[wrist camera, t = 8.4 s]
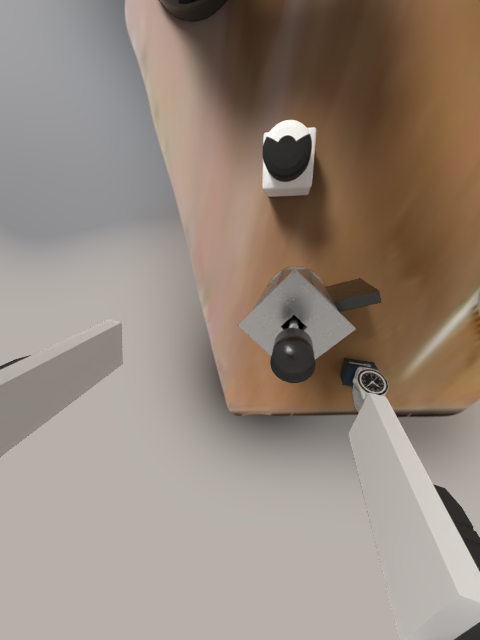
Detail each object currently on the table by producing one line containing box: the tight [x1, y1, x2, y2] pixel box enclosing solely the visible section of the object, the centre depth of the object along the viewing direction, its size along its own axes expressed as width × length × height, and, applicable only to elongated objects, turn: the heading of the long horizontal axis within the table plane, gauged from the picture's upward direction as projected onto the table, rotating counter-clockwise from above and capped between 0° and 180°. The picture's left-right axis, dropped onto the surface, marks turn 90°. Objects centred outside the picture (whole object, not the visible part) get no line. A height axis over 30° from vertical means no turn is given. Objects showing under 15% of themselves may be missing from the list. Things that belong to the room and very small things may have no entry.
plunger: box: [270, 315, 315, 383], centre depth 32 cm, size 9×9×23 cm
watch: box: [340, 358, 389, 412], centre depth 43 cm, size 6×8×11 cm
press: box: [238, 267, 381, 359], centre depth 37 cm, size 16×12×17 cm
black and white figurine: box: [262, 120, 316, 197], centre depth 34 cm, size 7×7×12 cm
